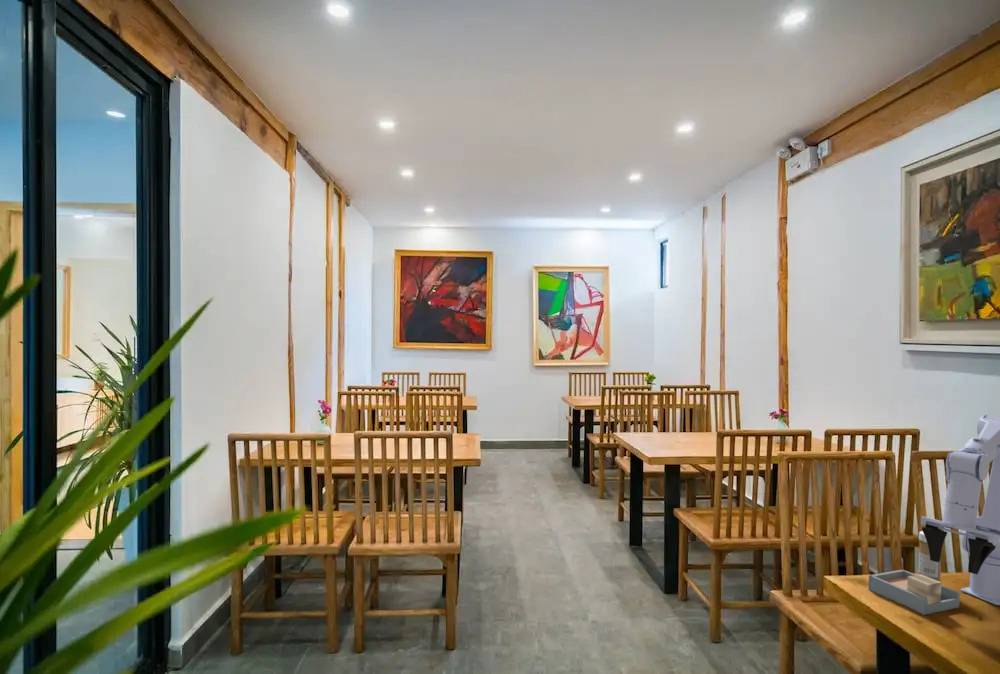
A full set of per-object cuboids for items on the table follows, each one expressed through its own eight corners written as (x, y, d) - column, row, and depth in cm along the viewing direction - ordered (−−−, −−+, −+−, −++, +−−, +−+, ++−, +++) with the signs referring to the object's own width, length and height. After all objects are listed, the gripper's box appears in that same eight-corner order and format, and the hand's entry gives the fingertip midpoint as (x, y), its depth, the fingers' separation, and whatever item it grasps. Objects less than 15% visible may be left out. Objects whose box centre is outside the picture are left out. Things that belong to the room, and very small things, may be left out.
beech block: (920, 593, 132) (920, 574, 132) (940, 601, 128) (941, 582, 128) (907, 595, 131) (907, 576, 131) (927, 604, 127) (928, 584, 127)
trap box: (902, 583, 142) (902, 569, 142) (959, 607, 130) (959, 592, 130) (868, 589, 138) (869, 575, 138) (924, 615, 126) (924, 599, 126)
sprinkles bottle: (943, 588, 140) (945, 534, 140) (936, 592, 137) (937, 538, 137) (921, 581, 144) (923, 529, 143) (914, 585, 141) (916, 532, 141)
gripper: (915, 495, 131) (907, 553, 129) (988, 510, 117) (979, 576, 115) (935, 500, 133) (927, 558, 131) (1008, 516, 120) (1000, 581, 118)
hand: (953, 567), depth 124 cm, fingers open, 7 cm apart
